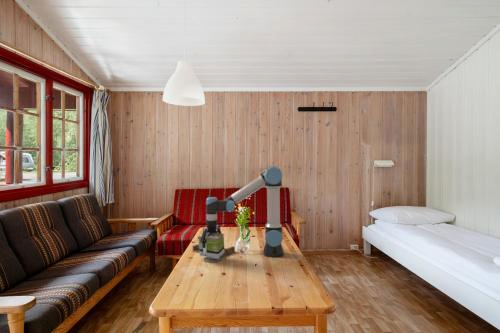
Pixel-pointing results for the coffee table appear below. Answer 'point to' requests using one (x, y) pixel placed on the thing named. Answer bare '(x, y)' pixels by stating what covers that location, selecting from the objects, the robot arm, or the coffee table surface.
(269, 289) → the coffee table surface
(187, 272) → the coffee table surface
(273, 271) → the coffee table surface
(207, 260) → the trivet
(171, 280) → the coffee table surface
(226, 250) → the caddy
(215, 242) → the tea box
